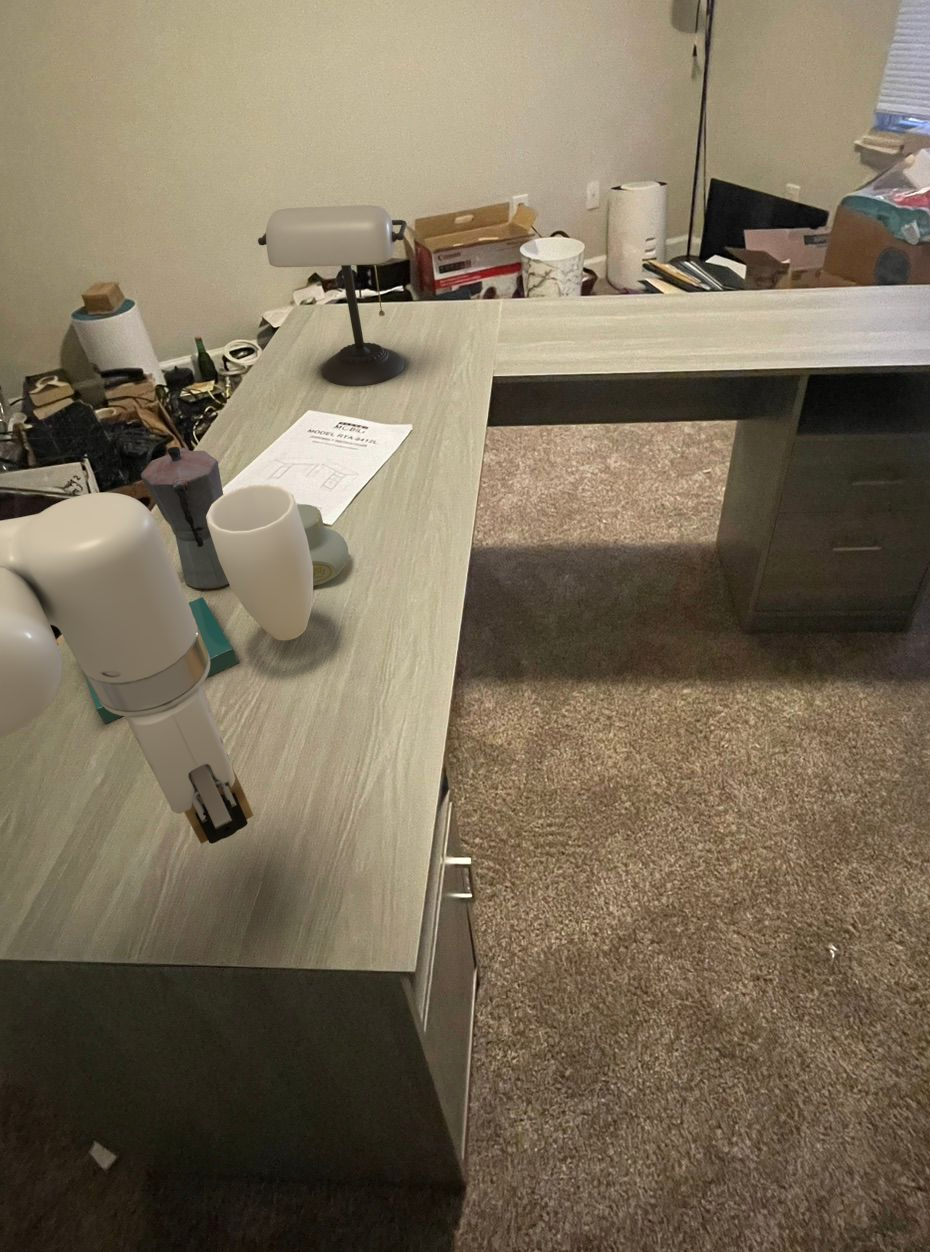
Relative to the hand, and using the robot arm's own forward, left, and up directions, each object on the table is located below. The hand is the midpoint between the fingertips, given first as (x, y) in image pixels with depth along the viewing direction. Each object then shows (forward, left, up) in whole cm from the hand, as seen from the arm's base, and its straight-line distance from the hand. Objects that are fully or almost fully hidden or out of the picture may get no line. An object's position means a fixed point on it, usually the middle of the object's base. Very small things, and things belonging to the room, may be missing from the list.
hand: (217, 808), depth 62 cm
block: (0, 0, 0) cm, 0 cm away
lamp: (+58, +95, -13) cm, 112 cm away
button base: (0, +35, -13) cm, 37 cm away
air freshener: (+23, +40, -13) cm, 48 cm away
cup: (+15, +28, -13) cm, 34 cm away
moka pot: (+12, +48, -13) cm, 51 cm away
